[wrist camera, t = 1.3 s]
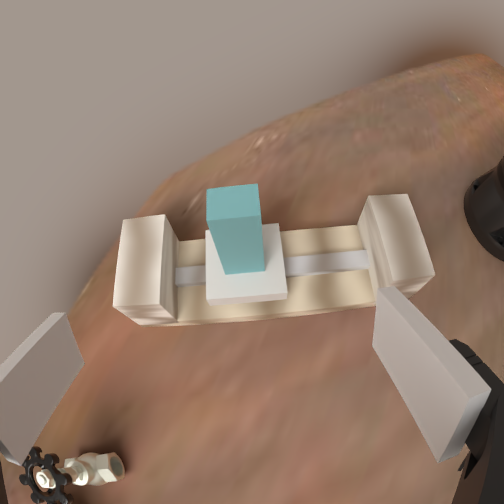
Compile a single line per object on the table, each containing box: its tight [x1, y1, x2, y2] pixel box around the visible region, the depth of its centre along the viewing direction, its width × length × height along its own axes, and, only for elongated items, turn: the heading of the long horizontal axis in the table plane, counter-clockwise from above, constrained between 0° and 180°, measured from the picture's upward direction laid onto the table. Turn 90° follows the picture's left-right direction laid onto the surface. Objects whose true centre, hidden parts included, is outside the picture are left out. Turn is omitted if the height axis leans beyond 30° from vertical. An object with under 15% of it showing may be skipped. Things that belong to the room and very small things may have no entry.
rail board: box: [113, 194, 435, 327], centre depth 34 cm, size 32×10×8 cm, turn 94°
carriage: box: [206, 184, 288, 306], centre depth 29 cm, size 8×8×13 cm
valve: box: [19, 446, 125, 504], centre depth 22 cm, size 7×7×12 cm
